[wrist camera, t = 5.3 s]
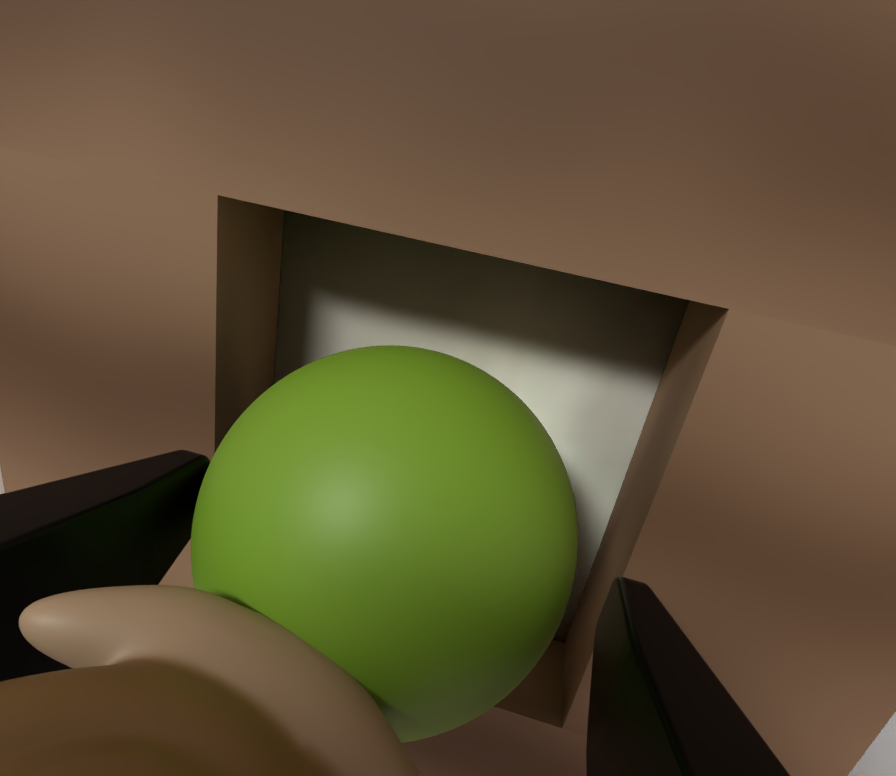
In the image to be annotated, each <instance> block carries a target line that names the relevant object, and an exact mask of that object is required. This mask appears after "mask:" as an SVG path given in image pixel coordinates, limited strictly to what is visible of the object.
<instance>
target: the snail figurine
mask: <svg viewBox="0 0 896 776" xmlns="http://www.w3.org/2000/svg"><path fill="white" fill-rule="evenodd" d="M577 554H578V524H577V515H576V508H575V502H574V497H573V492H572V488H571V484H570V481H569V478H568V475H567V472H566V469H565V467H564V464H563V462H562V459H561V457H560V455H559V453H558V451H557V449H556V447H555V445H554V443H553V441H552V440H551V438H550V436H549V435H548V433H547V431H546V430H545V428H544V427H543V425H542V424H541V423H540V421H539V420H538V419H537V417H536V416H535V415H534V414H533V412H532V411H531V410H530V409H529V408H528V407H527V406H526V404H525V403H524V402H523V401H522V400H521V399H520V398H519V397H518V396H517V395H515V394H514V393H513V392H512V391H511V390H510V389H509V388H507V387H506V386H505V385H504V384H502V383H501V382H500V381H498V380H497V379H495V378H494V377H492V376H491V375H489V374H488V373H486V372H484V371H483V370H481V369H479V368H477V367H475V366H473V365H471V364H469V363H467V362H465V361H463V360H460V359H458V358H455V357H453V356H450V355H447V354H443V353H440V352H436V351H432V350H428V349H422V348H416V347H408V346H371V347H363V348H357V349H351V350H347V351H343V352H339V353H336V354H332V355H329V356H326V357H324V358H321V359H318V360H316V361H314V362H311V363H309V364H307V365H305V366H303V367H301V368H299V369H297V370H295V371H294V372H292V373H290V374H288V375H287V376H285V377H284V378H282V379H281V380H279V381H278V382H276V383H275V384H274V385H272V386H271V387H270V388H269V389H267V390H266V391H265V392H264V393H263V394H261V395H260V396H259V397H258V398H257V399H256V400H255V401H254V402H253V403H252V404H251V405H250V406H249V407H248V408H247V409H246V410H245V411H244V412H243V413H242V414H241V416H240V417H239V418H238V419H237V420H236V422H235V423H234V424H233V425H232V427H231V428H230V430H229V431H228V433H227V434H226V435H225V437H224V438H223V440H222V442H221V443H220V445H219V447H218V448H217V450H216V452H215V454H214V456H213V458H212V460H211V462H210V464H209V467H208V469H207V471H206V474H205V476H204V479H203V482H202V485H201V487H200V491H199V494H198V498H197V502H196V506H195V511H194V516H193V523H192V532H191V569H192V577H193V584H194V588H189V587H182V586H171V585H132V586H114V587H101V588H91V589H83V590H76V591H70V592H65V593H60V594H56V595H52V596H49V597H46V598H43V599H40V600H38V601H36V602H34V603H32V604H30V605H29V606H28V607H26V608H25V609H24V611H23V612H22V613H21V615H20V618H19V628H20V631H21V633H22V634H23V636H24V637H25V639H26V640H27V641H28V642H29V643H30V644H31V645H32V646H34V647H35V648H36V649H38V650H39V651H40V652H42V653H44V654H45V655H47V656H49V657H51V658H52V659H54V660H56V661H58V662H60V663H62V664H65V665H67V666H69V667H71V668H73V669H66V670H59V671H53V672H47V673H41V674H36V675H30V676H25V677H19V678H14V679H10V680H6V681H2V682H0V776H422V775H421V774H420V772H419V770H418V769H417V767H416V766H415V764H414V762H413V761H412V759H411V758H410V756H409V754H408V753H407V751H406V749H405V748H404V746H403V744H402V743H403V742H410V741H416V740H420V739H425V738H429V737H432V736H436V735H438V734H441V733H444V732H447V731H450V730H452V729H454V728H457V727H459V726H461V725H463V724H465V723H467V722H469V721H471V720H473V719H475V718H476V717H478V716H480V715H481V714H483V713H484V712H486V711H488V710H489V709H490V708H492V707H493V706H495V705H496V704H497V703H499V702H500V701H501V700H502V699H504V698H505V697H506V696H507V695H508V694H509V693H510V692H511V691H513V690H514V689H515V688H516V687H517V686H518V685H519V684H520V683H521V682H522V680H523V679H524V678H525V677H526V676H527V675H528V674H529V673H530V671H531V670H532V669H533V668H534V667H535V665H536V664H537V662H538V661H539V660H540V658H541V657H542V655H543V654H544V652H545V651H546V649H547V648H548V646H549V644H550V643H551V641H552V639H553V637H554V635H555V633H556V631H557V629H558V627H559V625H560V623H561V620H562V618H563V616H564V613H565V610H566V607H567V604H568V601H569V598H570V595H571V591H572V587H573V582H574V577H575V571H576V564H577Z"/></svg>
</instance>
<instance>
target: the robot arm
mask: <svg viewBox="0 0 896 776" xmlns="http://www.w3.org/2000/svg"><path fill="white" fill-rule="evenodd" d="M209 464H210V460H209V458H208V457H207V456H205V455H202V454H198V453H195V452H191V451H188V450H177V451H173V452H169V453H165V454H161V455H157V456H153V457H149V458H145V459H141V460H137V461H133V462H129V463H125V464H121V465H117V466H112V467H108V468H104V469H100V470H96V471H92V472H88V473H84V474H80V475H76V476H72V477H68V478H64V479H60V480H56V481H52V482H48V483H44V484H40V485H36V486H32V487H28V488H24V489H20V490H16V491H12V492H8V493H4V494H0V682H2V681H6V680H10V679H14V678H19V677H25V676H30V675H36V674H41V673H47V672H53V671H59V670H66V669H73V668H71V667H69V666H67V665H65V664H62V663H60V662H58V661H56V660H54V659H52V658H51V657H49V656H47V655H45V654H44V653H42V652H40V651H39V650H38V649H36V648H35V647H34V646H32V645H31V644H30V643H29V642H28V641H27V640H26V639H25V637H24V636H23V634H22V633H21V631H20V628H19V618H20V615H21V613H22V612H23V611H24V609H25V608H26V607H28V606H29V605H30V604H32V603H34V602H36V601H38V600H40V599H43V598H46V597H49V596H52V595H56V594H60V593H65V592H70V591H76V590H83V589H91V588H101V587H114V586H132V585H159V583H160V582H161V580H162V579H163V577H164V576H165V575H166V573H167V572H168V570H169V569H170V567H171V566H172V565H173V563H174V562H175V560H176V559H177V557H178V556H179V555H180V553H181V552H182V550H183V549H184V547H185V546H186V545H187V543H188V542H189V540H190V539H191V532H192V523H193V516H194V511H195V506H196V502H197V498H198V494H199V491H200V487H201V485H202V482H203V479H204V476H205V474H206V471H207V469H208V467H209ZM586 773H587V776H791V775H790V774H789V773H788V771H787V770H786V769H785V767H784V766H783V765H782V763H781V762H780V761H779V759H778V758H777V757H776V755H775V754H774V753H773V751H772V750H771V749H770V747H769V746H768V745H767V743H766V742H765V741H764V739H763V738H762V737H761V735H760V734H759V733H758V731H757V730H756V729H755V727H754V726H753V725H752V723H751V722H750V721H749V719H748V718H747V716H746V715H745V714H744V712H743V711H742V710H741V708H740V707H739V706H738V704H737V703H736V702H735V700H734V699H733V698H732V696H731V695H730V694H729V692H728V691H727V690H726V688H725V687H724V686H723V684H722V683H721V682H720V680H719V679H718V678H717V676H716V675H715V674H714V672H713V671H712V670H711V668H710V667H709V666H708V664H707V663H706V662H705V660H704V659H703V658H702V656H701V655H700V653H699V652H698V651H697V649H696V648H695V647H694V645H693V644H692V643H691V641H690V640H689V639H688V637H687V636H686V635H685V633H684V632H683V631H682V629H681V628H680V627H679V625H678V624H677V623H676V621H675V620H674V619H673V617H672V616H671V615H670V613H669V612H668V611H667V609H666V608H665V607H664V605H663V604H662V603H661V601H660V600H659V599H658V597H657V596H656V594H655V593H654V592H653V590H652V589H651V588H650V587H649V586H648V585H647V584H645V583H643V582H640V581H636V580H633V579H629V578H626V577H622V576H619V577H617V578H615V579H614V581H613V582H612V585H611V587H610V590H609V592H608V595H607V597H606V600H605V602H604V605H603V607H602V610H601V613H600V615H599V618H598V621H597V624H596V629H595V635H594V646H593V659H592V673H591V686H590V699H589V713H588V726H587V744H586Z"/></svg>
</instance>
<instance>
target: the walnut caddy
mask: <svg viewBox="0 0 896 776" xmlns="http://www.w3.org/2000/svg"><path fill="white" fill-rule="evenodd" d="M284 210H287V211H292V212H296V213H301V214H305V215H310V216H314V217H319V218H323V219H328V220H332V221H337V222H341V223H345V224H350V225H354V226H359V227H363V228H368V229H372V230H377V231H381V232H386V233H390V234H395V235H399V236H404V237H408V238H413V239H417V240H422V241H426V242H431V243H435V244H440V245H444V246H449V247H453V248H458V249H462V250H467V251H471V252H476V253H480V254H485V255H489V256H494V257H498V258H503V259H507V260H512V261H516V262H521V263H525V264H530V265H534V266H539V267H543V268H547V269H552V270H556V271H561V272H565V273H570V274H574V275H579V276H583V277H588V278H592V279H597V280H601V281H606V282H610V283H615V284H619V285H624V286H628V287H633V288H637V289H642V290H646V291H651V292H655V293H660V294H664V295H669V296H673V297H678V298H682V299H687V300H690V301H689V304H688V306H687V309H686V312H685V315H684V317H683V320H682V323H681V326H680V328H679V331H678V334H677V337H676V339H675V342H674V345H673V347H672V350H671V353H670V356H669V358H668V361H667V364H666V367H665V369H664V372H663V375H662V378H661V380H660V383H659V386H658V388H657V391H656V394H655V397H654V399H653V402H652V405H651V408H650V410H649V413H648V416H647V419H646V421H645V424H644V427H643V429H642V432H641V435H640V438H639V440H638V443H637V446H636V449H635V451H634V454H633V457H632V460H631V462H630V465H629V468H628V470H627V473H626V476H625V479H624V481H623V484H622V487H621V490H620V492H619V495H618V498H617V501H616V503H615V506H614V509H613V511H612V514H611V517H610V520H609V522H608V525H607V528H606V531H605V533H604V536H603V539H602V542H601V544H600V547H599V550H598V552H597V555H596V558H595V561H594V563H593V566H592V569H591V572H590V574H589V577H588V580H587V583H586V585H585V588H584V591H583V594H582V596H581V599H580V602H579V604H578V607H577V610H576V613H575V615H574V618H573V621H572V624H571V626H570V629H569V632H568V635H567V637H566V640H565V643H563V642H559V641H556V640H553V639H552V641H551V643H550V644H549V646H548V648H547V649H546V651H545V652H544V654H543V655H542V657H541V658H540V660H539V661H538V662H537V664H536V665H535V667H534V668H533V669H532V670H531V671H530V673H529V674H528V675H527V676H526V677H525V678H524V679H523V680H522V682H521V683H520V684H519V685H518V686H517V687H516V688H515V689H514V690H513V691H511V692H510V693H509V694H508V695H507V696H506V697H505V698H504V699H502V700H501V701H500V702H499V703H497V704H496V705H495V706H493V707H492V708H490V709H489V710H488V711H486V712H484V713H483V714H481V715H480V716H478V717H476V718H475V719H473V720H471V721H469V722H467V723H465V724H463V725H461V726H459V727H457V728H454V729H452V730H450V731H447V732H444V733H441V734H438V735H436V736H432V737H429V738H425V739H420V740H416V741H410V742H403V743H402V744H403V746H404V748H405V749H406V751H407V753H408V754H409V756H410V758H411V759H412V761H413V762H414V764H415V766H416V767H417V769H418V770H419V772H420V774H421V775H422V776H587V773H586V744H587V726H588V713H589V699H590V686H591V673H592V659H593V646H594V635H595V629H596V624H597V621H598V618H599V615H600V613H601V610H602V607H603V605H604V602H605V600H606V597H607V595H608V592H609V590H610V587H611V585H612V582H613V581H614V579H615V578H617V577H619V576H622V577H626V578H629V579H633V580H636V581H640V582H643V583H645V584H647V585H648V586H649V587H650V588H651V589H652V590H653V592H654V593H655V594H656V596H657V597H658V599H659V600H660V601H661V603H662V604H663V605H664V607H665V608H666V609H667V611H668V612H669V613H670V615H671V616H672V617H673V619H674V620H675V621H676V623H677V624H678V625H679V627H680V628H681V629H682V631H683V632H684V633H685V635H686V636H687V637H688V639H689V640H690V641H691V643H692V644H693V645H694V647H695V648H696V649H697V651H698V652H699V653H700V655H701V656H702V658H703V659H704V660H705V662H706V663H707V664H708V666H709V667H710V668H711V670H712V671H713V672H714V674H715V675H716V676H717V678H718V679H719V680H720V682H721V683H722V684H723V686H724V687H725V688H726V690H727V691H728V692H729V694H730V695H731V696H732V698H733V699H734V700H735V702H736V703H737V704H738V706H739V707H740V708H741V710H742V711H743V712H744V714H745V715H746V716H747V718H748V719H749V721H750V722H751V723H752V725H753V726H754V727H755V729H756V730H757V731H758V733H759V734H760V735H761V737H762V738H763V739H764V741H765V742H766V743H767V745H768V746H769V747H770V749H771V750H772V751H773V753H774V754H775V755H776V757H777V758H778V759H779V761H780V762H781V763H782V765H783V766H784V767H785V769H786V770H787V771H788V773H789V774H790V775H791V776H847V775H848V774H849V773H850V771H851V770H852V769H853V767H854V766H855V765H856V763H857V762H858V761H859V759H860V758H861V757H862V755H863V754H864V753H865V751H866V750H867V749H868V747H869V746H870V745H871V743H872V742H873V741H874V739H875V738H876V737H877V735H878V734H879V733H880V731H881V730H882V729H883V727H884V726H885V725H886V723H887V722H888V721H889V719H890V718H891V717H892V715H893V714H894V713H895V711H896V0H0V466H1V472H2V478H3V484H4V490H5V493H8V492H12V491H16V490H20V489H24V488H28V487H32V486H36V485H40V484H44V483H48V482H52V481H56V480H60V479H64V478H68V477H72V476H76V475H80V474H84V473H88V472H92V471H96V470H100V469H104V468H108V467H112V466H117V465H121V464H125V463H129V462H133V461H137V460H141V459H145V458H149V457H153V456H157V455H161V454H165V453H169V452H173V451H177V450H188V451H191V452H195V453H198V454H202V455H205V456H207V457H208V458H209V460H210V462H211V460H212V458H213V456H214V454H215V452H216V450H217V448H218V447H219V445H220V443H221V442H222V440H223V438H224V437H225V435H226V434H227V433H228V431H229V430H230V428H231V427H232V425H233V424H234V423H235V422H236V420H237V419H238V418H239V417H240V416H241V414H242V413H243V412H244V411H245V410H246V409H247V408H248V407H249V406H250V405H251V404H252V403H253V402H254V401H255V400H256V399H257V398H258V397H259V396H260V395H261V394H263V393H264V392H265V391H266V390H267V389H269V388H270V387H271V386H272V385H274V371H275V354H276V336H277V319H278V302H279V285H280V268H281V251H282V234H283V217H284ZM159 585H171V586H182V587H189V588H194V584H193V577H192V569H191V539H190V540H189V542H188V543H187V545H186V546H185V547H184V549H183V550H182V552H181V553H180V555H179V556H178V557H177V559H176V560H175V562H174V563H173V565H172V566H171V567H170V569H169V570H168V572H167V573H166V575H165V576H164V577H163V579H162V580H161V582H160V583H159Z"/></svg>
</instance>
